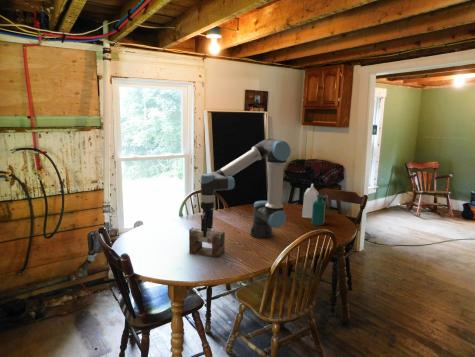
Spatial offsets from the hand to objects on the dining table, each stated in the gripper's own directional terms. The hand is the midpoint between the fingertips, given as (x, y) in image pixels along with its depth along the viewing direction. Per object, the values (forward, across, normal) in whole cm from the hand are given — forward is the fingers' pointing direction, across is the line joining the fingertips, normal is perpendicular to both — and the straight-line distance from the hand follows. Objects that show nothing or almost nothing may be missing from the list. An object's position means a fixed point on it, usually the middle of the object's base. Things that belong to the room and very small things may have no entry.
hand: (206, 240), depth 191 cm
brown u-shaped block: (+7, 0, 0) cm, 7 cm away
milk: (+7, -96, +50) cm, 109 cm away
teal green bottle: (+7, -78, +58) cm, 98 cm away
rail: (0, 0, 0) cm, 0 cm away
